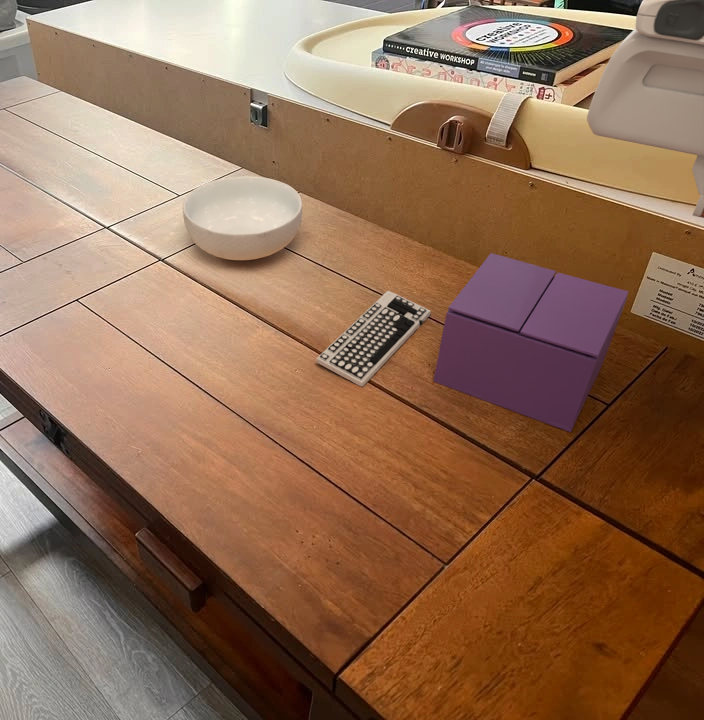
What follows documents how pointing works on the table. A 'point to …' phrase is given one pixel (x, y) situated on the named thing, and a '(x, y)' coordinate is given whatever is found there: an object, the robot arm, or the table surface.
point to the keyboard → (373, 338)
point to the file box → (513, 347)
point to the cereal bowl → (242, 216)
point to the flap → (575, 314)
